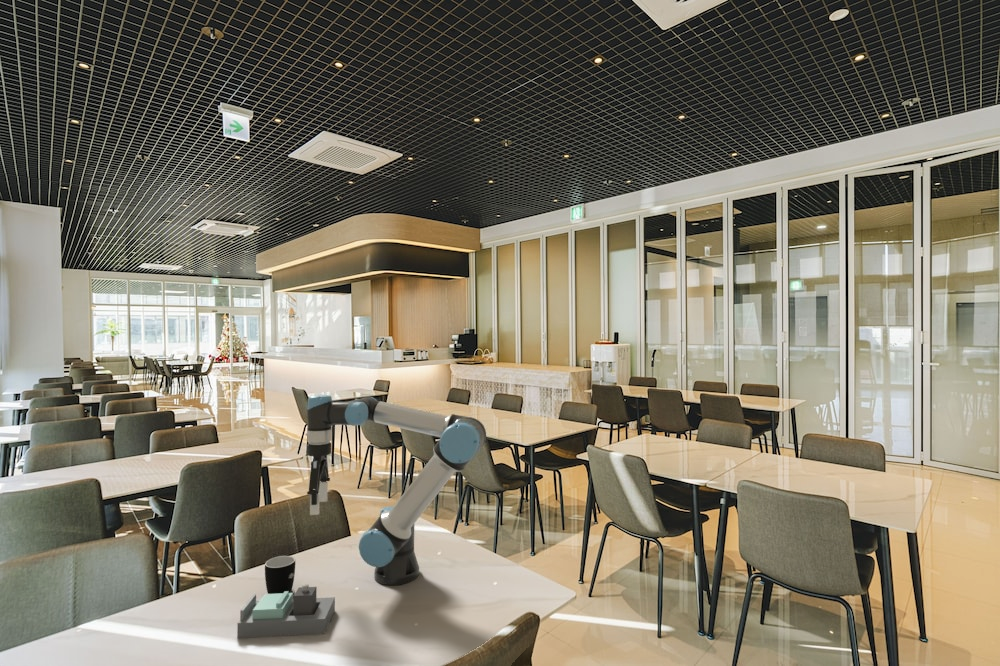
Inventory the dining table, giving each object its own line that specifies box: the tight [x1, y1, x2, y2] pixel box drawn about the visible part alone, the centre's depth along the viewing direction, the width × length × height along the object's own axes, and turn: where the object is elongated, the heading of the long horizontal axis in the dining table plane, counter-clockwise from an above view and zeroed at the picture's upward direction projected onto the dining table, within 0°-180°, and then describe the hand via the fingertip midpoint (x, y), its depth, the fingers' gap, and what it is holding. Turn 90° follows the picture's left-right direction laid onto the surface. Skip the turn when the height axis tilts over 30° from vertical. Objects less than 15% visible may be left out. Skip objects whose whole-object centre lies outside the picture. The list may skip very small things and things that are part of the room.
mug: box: [264, 555, 296, 594], centre depth 162 cm, size 12×9×10 cm
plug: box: [293, 583, 317, 616], centre depth 143 cm, size 5×5×11 cm
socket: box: [236, 593, 336, 639], centre depth 143 cm, size 23×12×7 cm, turn 96°
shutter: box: [252, 591, 294, 619], centre depth 142 cm, size 8×9×4 cm
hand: (319, 507), depth 164 cm, fingers open, 13 cm apart
